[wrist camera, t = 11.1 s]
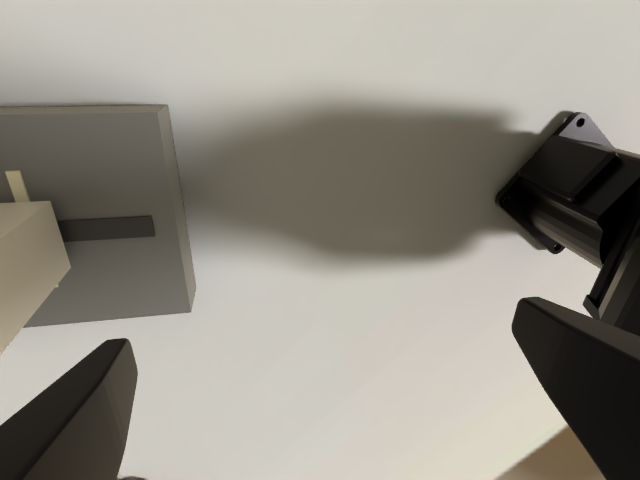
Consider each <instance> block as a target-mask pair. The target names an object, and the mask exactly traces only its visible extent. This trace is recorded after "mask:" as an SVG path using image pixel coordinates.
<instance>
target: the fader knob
mask: <svg viewBox="0 0 640 480" xmlns="http://www.w3.org/2000/svg"><path fill="white" fill-rule="evenodd" d="M70 268H71V265H70V262H69V259H68V256H67V253H66V249H65V246H64V243H63V240H62V237H61V233H60V230H59V227H58V224H57V221H56V217H55V214H54V211H53V208H52V205H51V201H35V202H14V203H0V355H1V354H2V353H3V351H4V350H5V349H6V348H7V346H8V345H9V344H10V343H11V341H12V340H13V339H14V338H15V336H16V335H17V334H18V333H19V331H20V330H21V329H22V328H23V327H24V325H25V324H26V323H27V322H28V320H29V319H30V318H31V317H32V315H33V314H34V313H35V312H36V310H37V309H38V308H39V307H40V305H41V304H42V303H43V302H44V300H45V299H46V298H47V297H48V295H49V294H50V293H51V292H52V291H53V289H54V288H55V287H56V286H57V284H58V283H59V282H60V281H61V279H62V278H63V277H64V276H65V274H66V273H67V272H68V271H69V269H70Z"/></svg>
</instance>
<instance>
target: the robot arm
mask: <svg viewBox="0 0 640 480" xmlns="http://www.w3.org/2000/svg"><path fill="white" fill-rule="evenodd" d="M578 119H579V123H578V124H577V125H576V123H577V121H578ZM505 197H507V199H506V201H504V202H503V200H504V198H505ZM495 203H496V204H497V205H498V206H499V207H500V208H501V209H502V210H503V211H504V212H505V213H507V214H508V215H509V216H510V217H511V218H512V219H513V220H514V221H515V222H517V223H518V224H519V225H520V226H521V227H522V228H523V229H524V230H525V231H527V232H528V233H529V234H530V235H531V236H532V237H533V238H534V239H535V240H537V241H538V242H539V243H540V244H541V245H542V246H543V247H544V248H546V249H547V250H548V251H549V252H551V253H553V254H558V253H560V252H561V251H562V250H563V249H564V248H565V247H566V248H568V249H569V250H571V251H572V252H574V253H576V254H577V255H579V256H580V257H582V258H584V259H585V260H587V261H589V262H590V263H592V264H593V265H595V266H597V267H598V268H600V269H601V270H600V272H599V275H598V277H597V279H596V281H595V283H594V285H593V288H592V290H591V292H590V294H589V295H586V297H585V300H584V302H583V306H584V307H585V308H586V310H587V311H588V312H589V314H590V315H591V316H592V318H591V317H589V316H586V315H584V314H581V313H578V312H576V311H573V310H571V309H568V308H566V307H563V306H560V305H558V304H555V303H553V302H550V301H548V300H545V299H542V298H540V297H528V298H522V299H520V300H519V302H518V304H517V308H516V311H515V315H514V318H513V322H512V333H513V335H514V337H515V339H516V341H517V343H518V344H519V346H520V348H521V350H522V352H523V353H524V355H525V357H526V359H527V360H528V362H529V364H530V366H531V368H532V369H533V371H534V373H535V375H536V376H537V378H538V380H539V382H540V383H541V385H542V387H543V388H544V390H545V392H546V393H547V395H548V396H549V398H550V399H551V401H552V402H553V404H554V405H555V406H556V408H557V409H558V411H559V412H560V414H561V415H562V417H563V418H564V419H565V421H566V422H567V424H568V425H569V427H570V428H571V429H572V431H573V432H574V434H575V435H576V437H577V438H578V440H579V441H580V443H581V444H582V445H583V447H584V448H585V450H586V451H587V453H588V454H589V455H590V457H591V458H592V460H593V461H594V463H595V464H596V466H597V467H598V469H599V470H600V471H601V473H602V474H603V476H604V477H605V479H606V480H640V155H639V154H635V153H631V152H627V151H624V150H620V149H616V148H614V147H613V146H612V144H611V143H610V142H609V141H608V139H607V138H606V137H605V136H604V135H603V133H602V132H601V131H600V130H599V128H598V127H597V126H596V125H595V123H594V122H593V121H592V120H591V118H590V117H589V116H588V115H587V114H586V113H581V112H576V113H573V114H572V115H571V116H570V117H569V118H568V119H567V120H566V121H565V122H564V123H563V124H562V125H561V126H560V128H559V129H558V130H557V131H556V132H555V133H554V134H553V135H552V136H551V137H550V138H549V139H548V140H547V142H546V143H545V144H544V145H543V146H542V147H541V148H540V149H539V150H538V151H537V152H536V153H535V154H534V155H533V157H532V158H531V159H530V160H529V161H528V162H527V163H526V164H525V165H524V166H523V167H522V168H521V169H520V170H519V172H518V173H517V174H516V175H515V176H514V177H513V178H512V179H511V180H510V181H509V182H508V183H507V184H506V186H505V187H504V188H503V189H502V190H501V191H500V192H499V193H498V194H497V196H496V198H495ZM556 244H557V245H556ZM555 245H556V246H555ZM554 246H555V247H554ZM137 375H138V372H137V365H136V362H135V358H134V354H133V350H132V347H131V343H130V341H129V340H128V339H126V338H122V339H112V340H107V341H105V342H104V343H102V344H101V345H100V346H99V347H97V348H96V349H95V350H94V351H92V352H91V353H90V354H89V355H87V356H86V357H85V358H84V359H82V360H81V361H80V362H79V363H77V364H76V365H75V366H74V367H73V368H71V369H70V370H69V371H68V372H66V373H65V374H64V375H63V376H61V377H60V378H59V379H58V380H56V381H55V382H54V383H53V384H51V385H50V386H49V387H48V388H46V389H45V390H44V391H43V392H41V393H40V394H39V395H38V396H37V397H35V398H34V399H33V400H32V401H30V402H29V403H28V404H27V405H25V406H24V407H23V408H22V409H20V410H19V411H18V412H17V413H15V414H14V415H13V416H12V417H10V418H9V419H8V420H7V421H5V422H4V423H3V424H2V425H1V426H0V480H116V479H117V475H118V472H119V469H120V465H121V462H122V458H123V454H124V450H125V446H126V441H127V435H128V430H129V424H130V418H131V412H132V406H133V401H134V395H135V389H136V383H137Z"/></svg>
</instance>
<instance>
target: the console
mask: <svg viewBox="0 0 640 480" xmlns="http://www.w3.org/2000/svg"><path fill="white" fill-rule="evenodd" d="M35 201H51V205H52V208H53V211H54V214H55V217H56V221H57V224H58V227H59V230H60V233H61V237H62V240H63V243H64V246H65V249H66V253H67V256H68V259H69V262H70V265H71V268H70V269H69V271H68V272H67V273H66V274H65V276H64V277H63V278H62V279H61V281H60V282H59V283H58V284H57V286H56V287H55V288H54V289H53V291H52V292H51V293H50V294H49V295H48V297H47V298H46V299H45V300H44V302H43V303H42V304H41V305H40V307H39V308H38V309H37V310H36V312H35V313H34V314H33V315H32V317H31V318H30V319H29V320H28V322H27V323H26V324H25V325H24V327H23V328H25V327H36V326H47V325H58V324H69V323H80V322H91V321H102V320H112V319H123V318H134V317H145V316H156V315H167V314H178V313H189V312H191V310H192V305H193V300H194V296H195V291H196V283H195V276H194V270H193V264H192V257H191V251H190V244H189V238H188V231H187V225H186V219H185V212H184V206H183V199H182V193H181V187H180V180H179V174H178V167H177V161H176V154H175V148H174V142H173V135H172V129H171V122H170V116H169V109H168V105H122V106H48V107H0V203H14V202H35Z"/></svg>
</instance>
